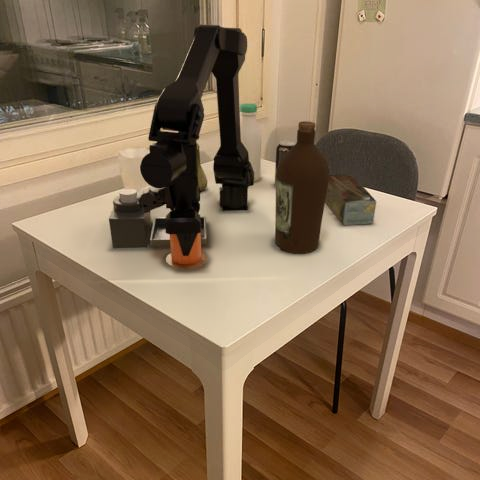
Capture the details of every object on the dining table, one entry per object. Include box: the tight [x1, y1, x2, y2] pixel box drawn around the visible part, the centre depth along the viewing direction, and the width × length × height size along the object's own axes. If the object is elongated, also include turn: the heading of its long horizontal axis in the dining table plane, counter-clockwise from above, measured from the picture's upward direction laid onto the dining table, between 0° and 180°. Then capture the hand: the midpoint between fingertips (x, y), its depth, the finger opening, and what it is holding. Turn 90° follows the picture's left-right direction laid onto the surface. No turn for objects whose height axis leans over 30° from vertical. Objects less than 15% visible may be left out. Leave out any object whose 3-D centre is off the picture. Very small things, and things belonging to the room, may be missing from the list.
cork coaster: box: [165, 251, 209, 270], centre depth 98 cm, size 8×8×1 cm
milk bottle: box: [239, 102, 262, 182], centre depth 135 cm, size 8×8×20 cm
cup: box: [117, 147, 150, 194], centre depth 122 cm, size 9×9×12 cm
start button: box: [118, 188, 138, 203], centre depth 102 cm, size 4×4×2 cm
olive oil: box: [274, 120, 330, 255], centre depth 98 cm, size 11×11×25 cm
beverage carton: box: [325, 173, 377, 226], centre depth 120 cm, size 8×19×7 cm, turn 7°
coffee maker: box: [108, 195, 152, 249], centre depth 105 cm, size 7×13×8 cm, turn 4°
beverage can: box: [274, 139, 297, 186], centre depth 132 cm, size 6×6×12 cm
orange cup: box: [169, 233, 202, 265], centre depth 96 cm, size 6×6×7 cm
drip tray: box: [149, 216, 208, 248], centre depth 107 cm, size 12×12×2 cm
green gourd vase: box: [197, 142, 208, 192], centre depth 129 cm, size 6×5×12 cm
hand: (186, 248), depth 97 cm, fingers closed on orange cup, 6 cm apart
